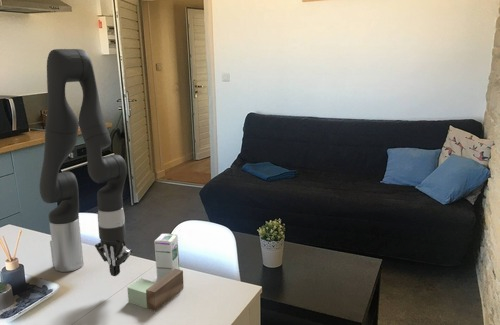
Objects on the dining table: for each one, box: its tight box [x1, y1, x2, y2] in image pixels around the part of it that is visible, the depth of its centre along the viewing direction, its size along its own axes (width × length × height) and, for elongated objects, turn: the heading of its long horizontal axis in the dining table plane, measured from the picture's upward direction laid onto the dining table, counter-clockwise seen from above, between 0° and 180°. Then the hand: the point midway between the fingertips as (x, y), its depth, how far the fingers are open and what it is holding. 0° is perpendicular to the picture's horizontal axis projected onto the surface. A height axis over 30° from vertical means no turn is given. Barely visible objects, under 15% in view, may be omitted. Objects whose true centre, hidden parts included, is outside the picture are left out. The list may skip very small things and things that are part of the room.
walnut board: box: [146, 268, 185, 312], centre depth 128 cm, size 3×14×6 cm, turn 154°
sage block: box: [127, 277, 157, 309], centre depth 127 cm, size 7×6×5 cm
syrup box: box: [154, 233, 181, 282], centre depth 138 cm, size 6×6×14 cm
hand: (115, 274), depth 131 cm, fingers closed
